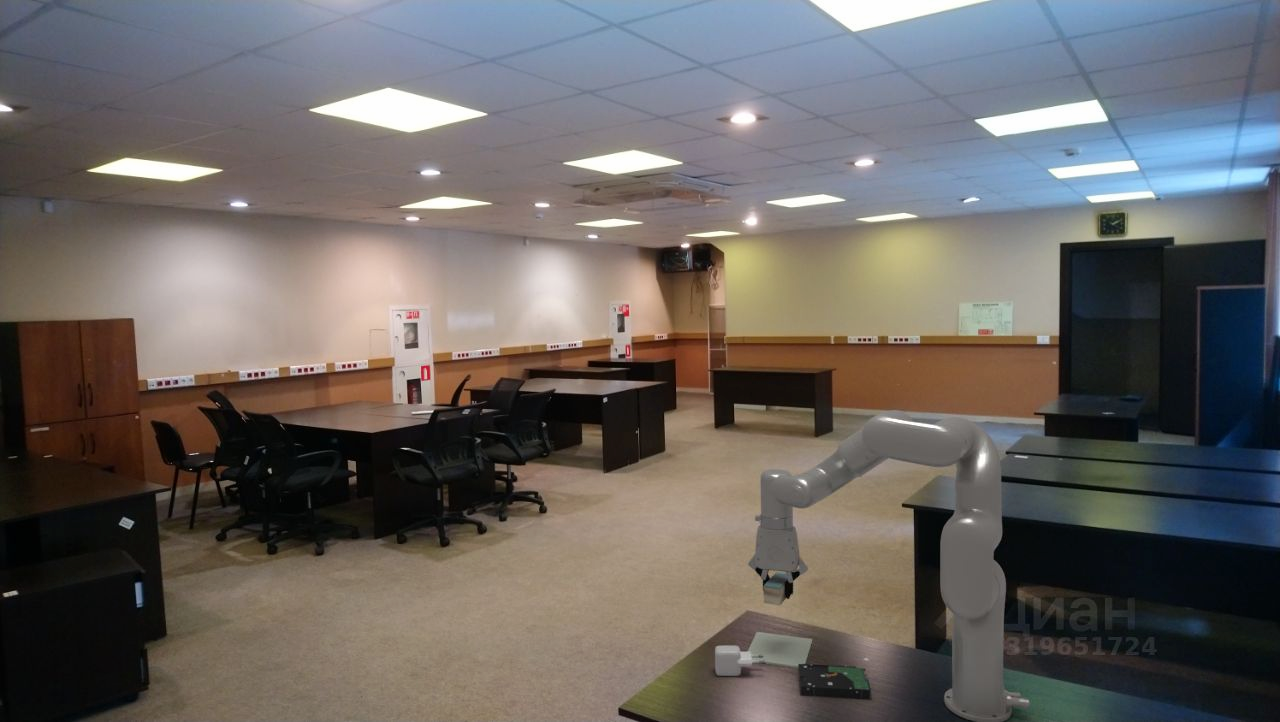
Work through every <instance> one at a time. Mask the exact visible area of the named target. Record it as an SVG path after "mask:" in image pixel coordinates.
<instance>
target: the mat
mask: <svg viewBox="0 0 1280 722" xmlns="http://www.w3.org/2000/svg"><path fill="white" fill-rule="evenodd" d="M813 640H814V639H813V638H807V637H806V638H805V637H800V636H792V635H791V636H790V635H784V634H776V633H768V632H763V631H762V632H760V631H756V633H755V634H754V637H753V640H752V641H751V644H750V646H748V647H749V648H748V650H747V651H746V652H751V654H753V655H763V658H752V660H764V661H765V662H764V663H766V664H765V665H768V664H772V665H771V666H775V665H778V666H777V667H782V666H785V667H784V668H788V667H790V668H789V669H796V670H799V669H798V664H807V661H808V657H809V655H808V654H810V651H811V648H812V645H813V642H812V641H813ZM811 644H812V645H811Z"/></svg>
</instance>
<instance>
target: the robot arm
mask: <svg viewBox="0 0 1280 722" xmlns="http://www.w3.org/2000/svg"><path fill="white" fill-rule="evenodd" d="M999 454H1000V453H999V451H998V448H997V446H996V443H995V442H994V440H993V439H992V437H991V436H990V434H989V433H988V432H987V431H986V430H985V429H984V428H982V426H980V425H978V424H977V423H975V422H974V421H972V420H969V419H966V418H963V417H957V416H956V417H954V416H953V417H947V418H946V417H945V418H944V419H941V420H939V421H937V422H935V423H933V424H932V423H925V422H919V421H914V420H913V419H912V417H911V415H909V414H907V413H905V412H904V411H901V410H897V409H893V410H888V411H884V412H882V413H879V414H876V415H874V416H872V417H871V418H869V420H868V421H866V423H865V424H864V426H863V427H862V428H860V429H858V430H857V431H856V432H854V433H853V434H851V435H849V437H847V438H845V439H844V440H842V441H841V442H840V443H839V444H838V445H837V449H836V450H835V452H833V453H832V454H831V455H829V456H828V457H827V458H825V459H824V460H822V461H821V462H819V463H818V464H817V465H815V466H813V467H812V468H811V469H809V470H806V471H804V472H802V473H800V474H796V475H793V476H792V474H791V472H789V471H788V470H785V469H779V468H776V469H775V468H773V469H768V470H765V471H762V473H761V474H760V479H759V481H760V514H758V515H755V517H754V520H755V521H756V522H758V523H759V525H758V526H757V528H756V534H755V535H756V537H755V549H754V550H755V551H754V552H755V553H754V554H753V556H752V557H751V559H750V560H749V562H747V565H748V567H750V568H751V569H752V570H754V571H755V573H756V574H757V575H758V576H759V577H760V579H761V580H762V587H763V586H764V585H765V584H766V583H767V582H768V580H769V579H770V578H771V576H770V575H769V571H775V572H785V574H786V575H787V582H786V600H789V599H790V598H791V596H792V595H793V594H794V581H796V580H797V579H798V577H800V576H802V575H803V574H805V573H807V572H808V568H809V567H808V566H807V564H806V563H805V562H804V560H803V559H802V557H801V555H800V548H799V539H798V532H797V529H796V528H797V527H796V526H794V518H793V517H794V516H793V515H794V513H793V512H794V511H793V510H794V509H793V508H795V509H807V508H811V507H812V506H814V505H815V504H817V503H819V502H821V501H823V500H824V499H826V498H828V497H829V496H831V495H832V494H834V493H835V492H837V491H838V490H840V489H841V488H842V487H844V486H846V485H847V484H850V483H851V482H852V481H854V480H855V479H856V478H860V477H862V476H864V475H866V474H868V473H869V472H870V471H872V470H873V469H874V468H876V467H878V466H879V465H881V464H883V462H885V461H887V460H888V459H891V460H895V461H899V462H900V461H901V462H906V463H911V464H914V465H915V464H916V465H922V466H927V467H933V468H947V467H951V466H953V465H956V468H955V469H956V472H955V473H956V474H955V481H954V482H955V483H954V489H955V490H954V491H955V492H954V493H955V496H954V512H953V515H952V516H951V517H950V518H949V519H948V520H947V521H946V523H945V524H944V526H943V528H942V532H941V536H940V543H939V544H940V545H939V546H940V551H939V552H940V556H939V558H940V559H939V560H940V564H939V566H940V569H939V570H940V572H939V573H940V574H939V576H940V577H939V578H940V579H939V580H940V594H941V598H942V601H943V603H944V604H945V606H946V608H948V611H950V612H951V613H952V621H951V622H952V623H951V624H952V626H951V627H952V629H951V630H952V631H951V636H952V638H951V639H952V640H951V642H952V643H951V644H952V645H951V650H952V651H951V657H952V659H951V662H952V663H951V673H952V674H951V675H952V676H951V678H952V680H951V682H952V684H951V687H952V688H949V689H948V690H946V691H945V692H944V697H943V702H944V705H945V706H946V707H947V709H948V710H949V711H951V712H952V713H953V714H955V715H957V716H959V717H961V718H963V719H965V720H968V721H972V722H1005V721H1007V720H1009V719H1010V718H1011V716H1012V710H1013V709H1012V707H1015V708H1019V709H1026V710H1030V700H1029V698H1024V697H1022V696H1021V693H1020V692H1015V691H1013V692H1012V691H1008V690H1007V689H1006V688H1005V685H1004V635H1005V634H1004V619H1005V607H1006V606H1005V603H1006V593H1007V582H1006V581H1007V580H1006V577H1005V572H1004V571H1003V569H1002V567H1001V566H1000V564H999V563H998V562H997V561H996V560H994V556H995V555H994V554H995V553H994V552H995V550H996V548H997V547H998V546H999V544H1000V542H1001V540H1002V537H1003V522H1002V521H1003V518H1002V517H1003V516H1002V514H1003V513H1002V512H1003V511H1002V509H1003V507H1002V506H1003V505H1002V501H1003V500H1002V499H1003V498H1002V497H1003V496H1002V467H1001V459H1000V455H999ZM798 567H799V568H798Z"/></svg>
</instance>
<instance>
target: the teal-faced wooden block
mask: <svg viewBox="0 0 1280 722" xmlns="http://www.w3.org/2000/svg"><path fill="white" fill-rule="evenodd" d="M786 582H787V575H786V572H785V573H783V572H779V571H775V573H774V574H773V575H772V576H770V579H769V580H768V582H767V583H766V584H765V585H764V586H763V585H762V592H763V604H767V605H768V604H769V605H774V606H781V605H782V604H783V603H784V602H785V600H787V598H786Z"/></svg>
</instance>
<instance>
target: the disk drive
mask: <svg viewBox="0 0 1280 722" xmlns="http://www.w3.org/2000/svg"><path fill="white" fill-rule="evenodd" d="M797 670H798V681H799V691H800V692H799V693H800V696H805V697H806V696H807V697H823V698H836V699H837V698H838V699H839V698H840V699H854V700H867V701H868V700H872V690H871V689H872V688H871V686H870V682H869V681H870V679H869V677H868V675H867V671H866V668H865V667H861V666H855V665H854V666H853V665H852V666H851V665H846V666H845V665H830V664H812V663H811V664H810V663H806V664H798V669H797Z"/></svg>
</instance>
